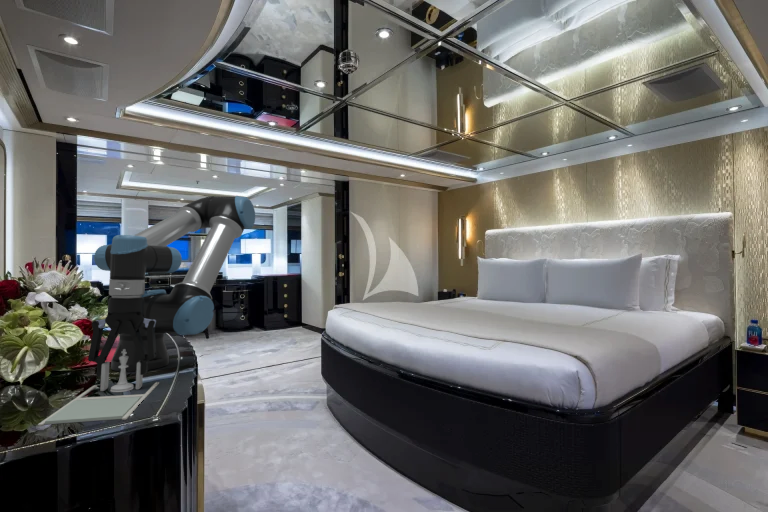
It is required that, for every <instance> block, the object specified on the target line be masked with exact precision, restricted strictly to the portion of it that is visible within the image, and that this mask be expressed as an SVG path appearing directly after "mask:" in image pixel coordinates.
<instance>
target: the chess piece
mask: <svg viewBox="0 0 768 512" xmlns="http://www.w3.org/2000/svg"><path fill="white" fill-rule="evenodd" d="M121 353H123V356H121V357H119V360H120V363H121V366H119V367H118V368H121V371H119V372H120V373H119V380H118V382H116V384H113V385H111V387H110V392H111V393H123V392H124V393H125V392H129V391H133V389H134V388H135V385H134V384H133V383H130V382H129V381H127V372H126V369H125V368H127V367H128V365H126V363H127V360H128V358H129V357H128V356H125V354H127V352H126V349H123V351H122V352H121Z"/></svg>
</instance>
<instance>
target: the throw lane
mask: <svg viewBox="0 0 768 512" xmlns="http://www.w3.org/2000/svg"><path fill="white" fill-rule="evenodd" d="M159 384H160V382H157V381H156V382H155V383H153V384H152V385H151V387H149V389H148V390H147V391H146V392H145V393H143V394H142V393H140V394H126V395H107V396H106V395H105V396H91V397H90V396H89V397H85V396H86V395H87V394H89V393H90V392H92V391H93V390H95V389H96V388H97V387H98V385H97V384H95V385H92V386H91V387H89V388H88V389H86V390H85V391H84V392H82V393H81V394H79V395H77V396H76V397H75V398H74V399H72V400H70V401H69V402H68V403H67V404H64V405H63V406H61V408H59V409H58V410H56V411H55V412H53V413H52V414H51V415H49V416H48V417H46V418H45V419H43V420H42V421H41V422H39V423H38V424H37V426H38V427H40V426H41V427H43V426H45V425H53V424H54V425H55V424H56V425H57V424H66V423H67V424H69V423H70V424H71V423H81V422H82V423H84V422H93V421H94V422H95V421H112V420H122V421H123V420H127V419H128V418H129V417H130V416H131V414H133V413H134V412H133V411H136V409H138V407H139V406H140V405H141V404H142V403H143V402H144V401H145V400H146V399H147V397H148V396H149V395H150V394H151V393H152V392H153V391H154V390H155V389H156V387H157V386H158V385H159ZM143 400H144V401H143ZM142 401H143V402H142ZM141 402H142V403H141ZM139 404H140V405H139ZM138 405H139V406H138Z"/></svg>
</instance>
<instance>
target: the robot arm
mask: <svg viewBox="0 0 768 512" xmlns="http://www.w3.org/2000/svg"><path fill="white" fill-rule="evenodd" d="M255 224H256V211H255V206H254V204H253V202H252V200H250V199H249V197H246V196H240V195H236V196H205V197H201V198H199V199H195V200H193V201H192V202H189V203H187V204H185V205H183V206H180V207H179V208H178V209H177V211H176V212H175V213H174V214H172V215H170V216H168V217H167V218H165V219H163V220H161V221H159V222H157V223H154V224H153V225H151V226H150V227H148V228H145V229H143V230H141V231H140V232H138V233H136V234H134V235H130V234H128V235H127V234H117V235H115V236H113V238H112V239H111V243H109V244H103V245H101V246H99V247H98V248H97V249H96V251H95V252H94V255H93V260H94V263H95V266H97V268H98V269H99V270H102V271H108V272H109V284H108V285H109V286H108V295H109V296H111V297H109V298H108V303H107V315H106V317H105V318H104V319H96V320H93V321H92V322H91V326H92V335H91V340H90V341H91V342H90V346H89V347H90V348H89V352H88V358H87V361H89V362H93V363H95V364H96V377H98V378H99V377H100V389H99V391H100V392H104V391H106V390H107V389H108V388H109V378H110V369H111V370H113V371H115V372H121V368H118V367H119V366H121V363H120V360H119V357H121V356H123V353H121V352H122V351H123V349H126V352H127V354H125V356H128V357H129V358H128V360H127V363H126V365H128V367H127V368H125V369H126V373H127V372H135V373H136V374H135V390H140V389H141V387H143V379H144V378H143V377H144V375H146V374H147V373H148V371H150V370H155V369H160V368H163V367H166V366H168V365H169V363H170V356H169V352H168V349H167V345H166V342H165V338H164V336H165V334H171V335H173V334H175V335H181V336H188V335H198V334H200V333H202V332H204V331H205V330H206V329H207V328H208V327H209V326H210V324H211V323H212V321H213V318H214V313H215V312H214V310H215V305H214V301H213V297H212V295H211V290H212V288H213V286H214V285H215V282H216V281H217V278H218V276H219V273H220V271H221V269H222V266H223V265H224V262H225V260H226V258H227V256H228V254H229V252H230V250H231V248H232V246H233V243H234V241H235V239H238V238H240V237H241V236H242V235H243V232H244V230H245V229H246V230H247V229H251V228H253V227H254V225H255ZM201 229H209V231H208V233H207V234H206V237H205V239H204V240H203V242H202V244H201V246H200V248H199V249H198V252H197V253H196V256H195V257H194V259H193V261H192V263H191V265H190V267H189V269H188V271H187V273H185V274H186V275H185V277H184V279H183V280H182V281H181V282H179V283H175V285H174V286H173V288H172V290H171V292H170V293H169V294H167V291H166V289H152V290H150V289H149V290H145V289H146V288H145V287H146V274H151V273H152V274H169V273H174V272H176V271H177V270H178V269H180V267H181V265H182V259H183V258H182V254H181V253H180V251H179V250H178V249H177V248H175V247H172V246H168V245H171V244H172V243H173V242H175V241H177V240H179V239H180V238H182V237H184V236H185V235H187V234H188V233H194V232H198V231H199V230H201ZM106 325H107V326H108V327H109V329H110V331H109V333H108V335H107V338H106V341H105V343H104V345H103V347H102V348H101V343H102V338H103V332H104V328H105V327H106ZM118 336H119V340H118V341H119V342H118V344H117V346H116V348H115V351H114V354H113V355H112V358H111V360H110V361H111V363H110V361H107V360H108V357H109V354H110V353H111V350H112V348H113V346H114V344H115V342H116V339H117V338H118ZM100 348H101V351H100Z"/></svg>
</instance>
